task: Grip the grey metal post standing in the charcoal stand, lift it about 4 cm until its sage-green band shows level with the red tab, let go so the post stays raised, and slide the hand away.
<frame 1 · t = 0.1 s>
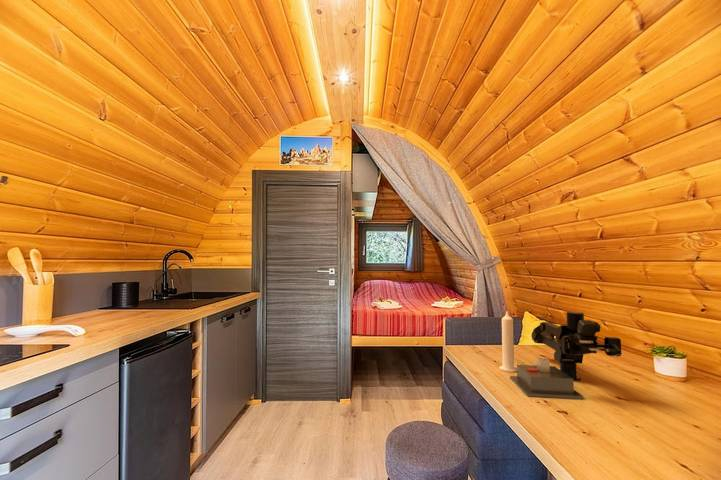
hand: (605, 352, 110), 17 cm above the table, tool horizontal, fingers open, 9 cm apart
stand: (543, 388, 123), on the table
post: (543, 371, 123), point 6 cm above the table, slide at 0.0 cm
candle: (508, 370, 144), on the table
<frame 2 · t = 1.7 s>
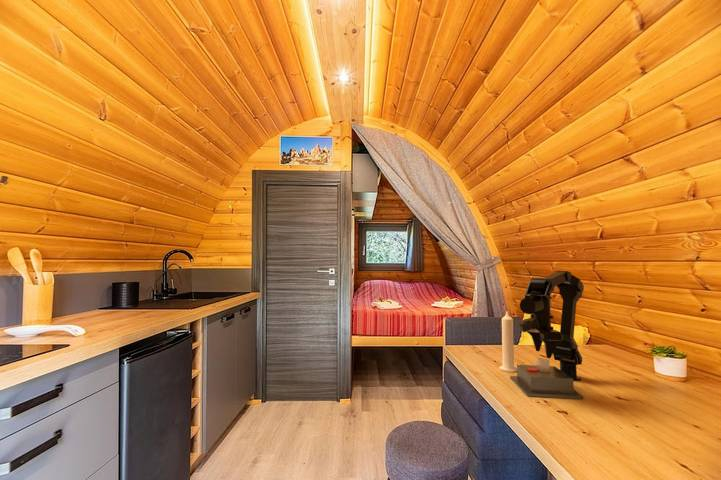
hand: (543, 354, 124), 12 cm above the table, tool pointing down, fingers open, 9 cm apart
nothing on the table moved.
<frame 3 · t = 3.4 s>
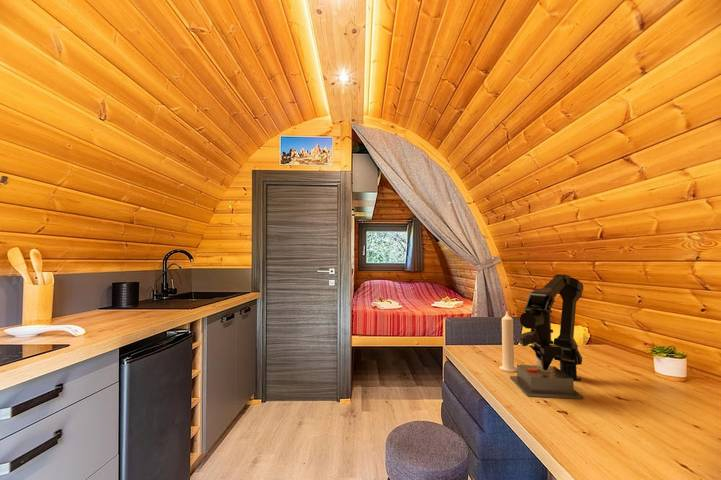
hand: (543, 368, 123), 7 cm above the table, tool pointing down, fingers closed on post, 3 cm apart
post: (543, 371, 123), point 6 cm above the table, slide at 0.0 cm, touching gripper
everything else where it was.
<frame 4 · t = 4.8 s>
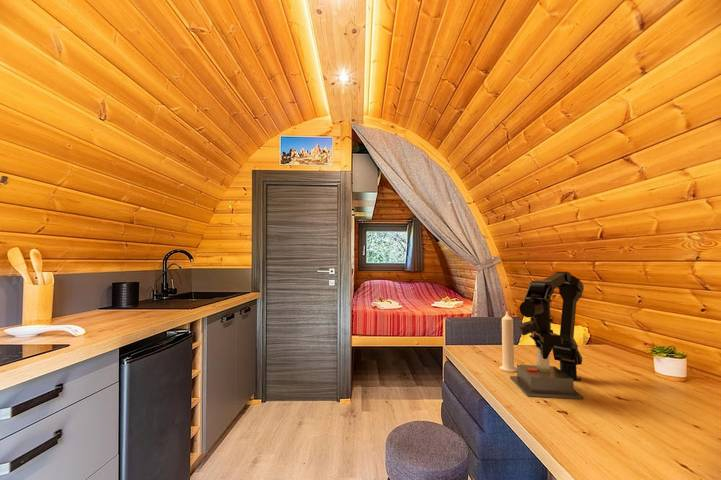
hand: (542, 357, 123), 11 cm above the table, tool pointing down, fingers closed on post, 3 cm apart
post: (542, 360, 123), point 10 cm above the table, slide at 3.9 cm, touching gripper
everything else where it was.
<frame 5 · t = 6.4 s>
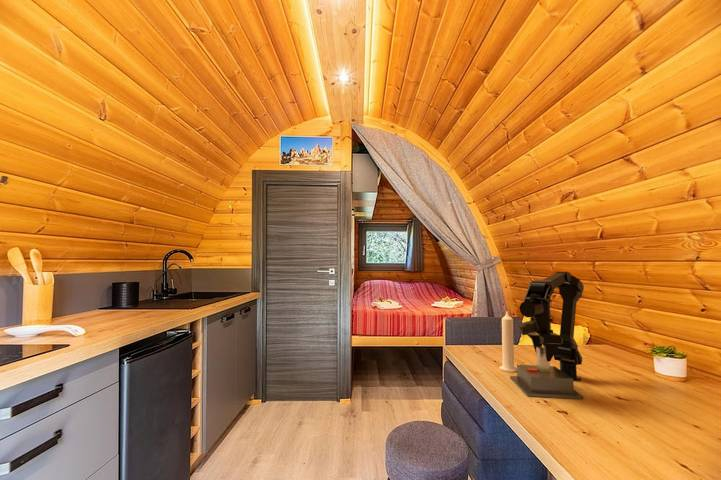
hand: (542, 357, 123), 11 cm above the table, tool pointing down, fingers open, 9 cm apart
post: (542, 360, 123), point 10 cm above the table, slide at 3.9 cm
everything else where it was.
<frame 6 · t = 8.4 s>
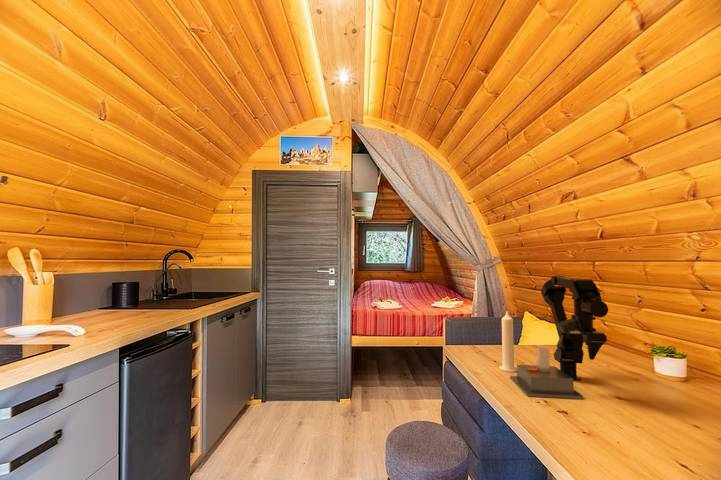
hand: (584, 356, 122), 12 cm above the table, tool pointing down, fingers open, 9 cm apart
nothing on the table moved.
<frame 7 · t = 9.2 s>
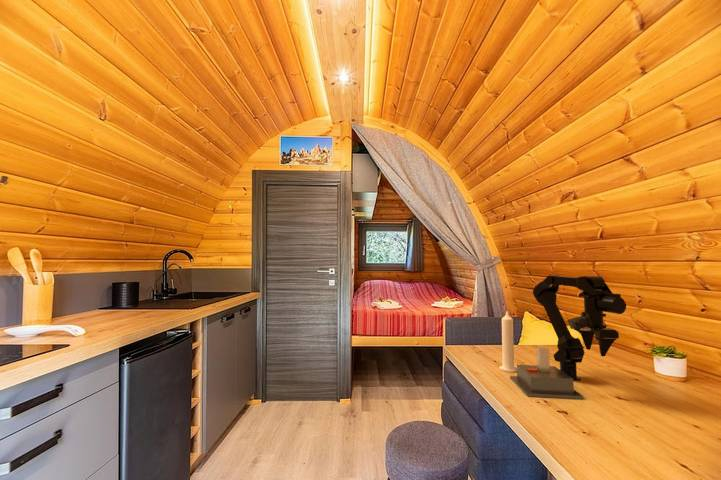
hand: (595, 352, 123), 13 cm above the table, tool pointing down, fingers open, 9 cm apart
nothing on the table moved.
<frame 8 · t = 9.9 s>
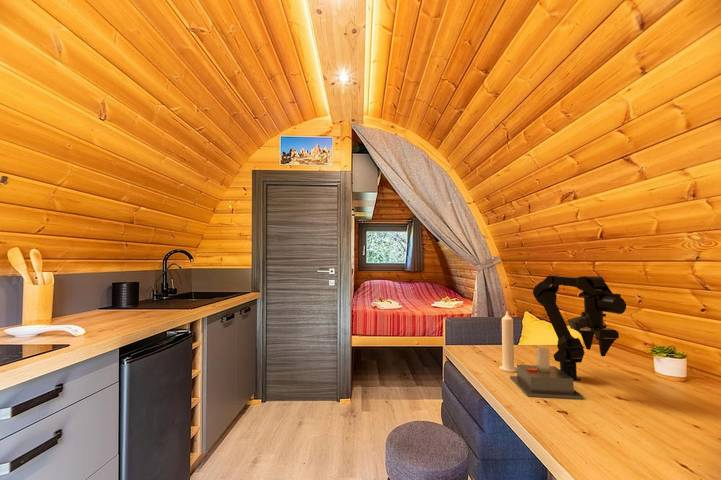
hand: (595, 352, 123), 13 cm above the table, tool pointing down, fingers open, 9 cm apart
nothing on the table moved.
at the end: post slide at 3.9 cm; the gripper is holding nothing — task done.
